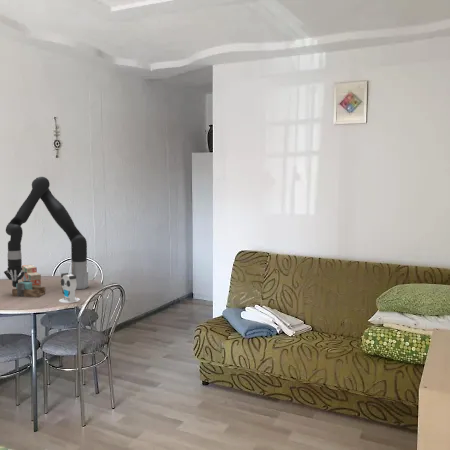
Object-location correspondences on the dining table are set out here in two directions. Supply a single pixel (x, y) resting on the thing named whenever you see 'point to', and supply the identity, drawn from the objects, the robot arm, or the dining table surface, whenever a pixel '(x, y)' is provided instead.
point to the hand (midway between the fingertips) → (15, 286)
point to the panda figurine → (68, 288)
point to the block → (26, 285)
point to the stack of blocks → (31, 275)
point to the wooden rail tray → (28, 291)
